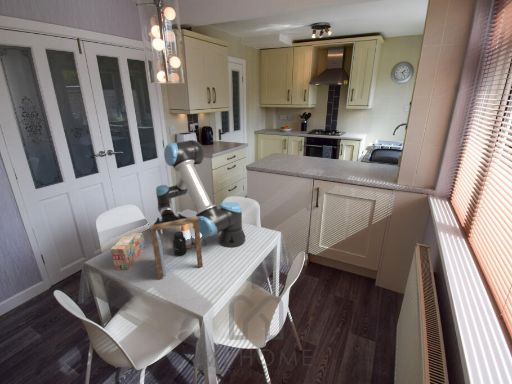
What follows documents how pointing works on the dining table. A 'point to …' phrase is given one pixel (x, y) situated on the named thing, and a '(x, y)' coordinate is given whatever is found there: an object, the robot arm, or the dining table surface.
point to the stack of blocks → (127, 250)
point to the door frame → (173, 224)
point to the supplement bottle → (179, 244)
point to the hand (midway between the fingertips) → (174, 229)
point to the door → (161, 254)
